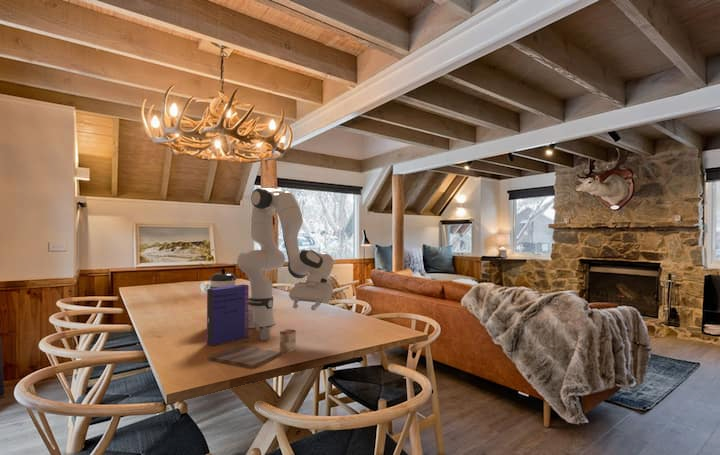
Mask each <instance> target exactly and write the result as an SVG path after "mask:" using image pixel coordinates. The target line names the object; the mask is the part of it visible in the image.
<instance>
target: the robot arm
mask: <svg viewBox="0 0 720 455" xmlns="http://www.w3.org/2000/svg"><path fill="white" fill-rule="evenodd" d="M250 197H251V198H250V201H251V204H252V206H253V207H252V211H251V222H250V223H251V225H250V238H251V239H252V241H253V242H255V243H257V244H259V246H260V249H250V250H245V251H241V252H240V253H239V255H238V256H237V259H236V263H237V266H238V267H237V268H239V269H240V270H241V271H242V272H243V273H244V274H245V275H246V276H247V277H248V280H249V283H250V284H249V285H250V297H249V300H248V329H254V328H255V326H254V324H253V323H254V322H257V324H258V326H259V328H263V327H271V326H274V325H275V324H276V321H275V314H274V308H273V307H274V296H273V282H272V280H271V279H270V278H268V277H266V276H265V275H264V271H274V270H275V271H276V270H279V269H281V268H283V267H284V265H285V263H286V257H285V254H284V252H283V251H282V250H281V249H279V247H278V246H277V244H276V242H275V239H274V229H273V228H274V225H273V222H274V220H273V217H274V213H275V212H277V216H278V219H279V223H280V226H281V231H282V236H283V237H282V238H283V243H284V246H285V247H284V248H285V251H286V255H287V260H288V262H287V269H288V272H289V274H290V275H291V276H292V277H293V278H296V279H303V278H305V277H306V276H307V275H308V274H309V275H308V276H307V278H306V281H305V282H297V283H295V284H294V286H293V287H292V288H291V290H290V291H289V294H288V297H289V298H290V300H291V301H293V305H292V307H293V309H295V310H297V309H298V307H299V304H298V303H299V302H306V303H307V302H308V303H314V304H312V305H311V307H310V310H312V311H316V310H317V308H318V307H319V306H320V305H321V304H328V303H330V302H331V300H332V297H333V291H334V286H333V284H332V282H331V281H330V279H328V278H329V277H330V275H331V273H332V270H333V269H334V263H335V262H334V259H333V256H331V255H330V254H329V253H327V252H317V251H315V250H313V249H312V248H303V249H302V250H301V251H300V248H299V244H298V235H299V233H300V230H301V229H302V228H301V227H302V226H303V214H302V211H301V208H300V205H299V204H298V201H297V199H296V197H295V196H294V195H293V193H292V192H290V191H287V190H285V189H279V188H278V189H277V188H268V187H267V188H264V187H258V188H256V189H254V190H253V191H252V193H251V196H250ZM255 329H256V328H255Z"/></svg>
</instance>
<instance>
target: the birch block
mask: <svg viewBox="0 0 720 455" xmlns="http://www.w3.org/2000/svg"><path fill="white" fill-rule="evenodd" d="M296 332H297V330H295V329H290V328H285V329H283V330H281V331H280V332H279V352H282V353H288V354H289V353H292V352H293V351H296V347H297V346H296V345H297V344H296V342H297V341H296V334H297V333H296Z"/></svg>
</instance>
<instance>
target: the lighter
mask: <svg viewBox="0 0 720 455" xmlns="http://www.w3.org/2000/svg"><path fill="white" fill-rule="evenodd" d="M253 324H254V326H255V330H256V331H257V332H259V340H260V341H264V340H270V336H271V335H270V334H271V333H270V328H269V327H268V326H266V327H262V328H261V327H259V326H258V324H257V322H254V323H253Z"/></svg>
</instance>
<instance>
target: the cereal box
mask: <svg viewBox="0 0 720 455" xmlns="http://www.w3.org/2000/svg"><path fill="white" fill-rule="evenodd" d="M249 290H250V289H249V285H248V284H236V285H235V286H227V287H219V288H210V287H209V288H207V289H206V345H208V346H210V347H216V346H219V345H224V344H228V343H231V342H235V341H240V340H244V339H247V338H249V328H248V302H249V301H248V300H249V298H250V297H249Z"/></svg>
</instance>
